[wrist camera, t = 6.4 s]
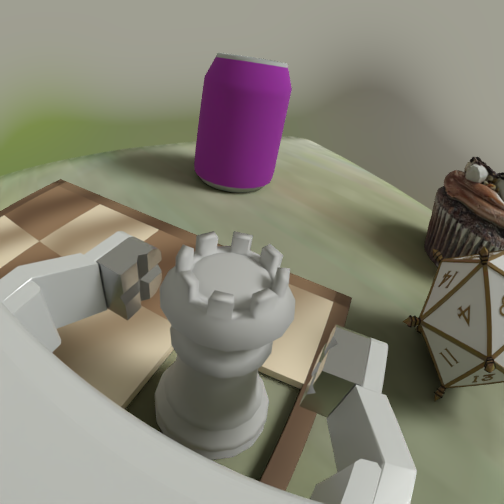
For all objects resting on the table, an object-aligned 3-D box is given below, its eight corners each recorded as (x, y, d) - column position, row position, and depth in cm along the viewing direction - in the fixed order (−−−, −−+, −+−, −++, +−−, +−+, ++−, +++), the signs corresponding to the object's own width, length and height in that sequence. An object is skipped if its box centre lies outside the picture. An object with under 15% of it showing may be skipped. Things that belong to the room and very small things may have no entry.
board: (348, 303, 18) (351, 297, 18) (260, 535, 7) (263, 535, 7) (61, 184, 24) (60, 179, 24) (-63, 259, 14) (-65, 254, 13)
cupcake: (416, 268, 23) (468, 157, 17) (415, 222, 30) (449, 137, 24) (501, 309, 20) (558, 213, 14) (484, 256, 28) (522, 178, 22)
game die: (392, 405, 17) (358, 307, 12) (437, 306, 20) (417, 191, 16) (515, 437, 10) (574, 344, 5) (541, 321, 14) (562, 196, 9)
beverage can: (230, 159, 34) (247, 56, 27) (285, 185, 31) (312, 69, 24) (176, 173, 29) (189, 50, 22) (234, 204, 26) (259, 59, 19)
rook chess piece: (277, 392, 13) (342, 245, 8) (241, 479, 9) (310, 384, 5) (185, 354, 14) (192, 195, 9) (135, 431, 10) (86, 286, 5)
